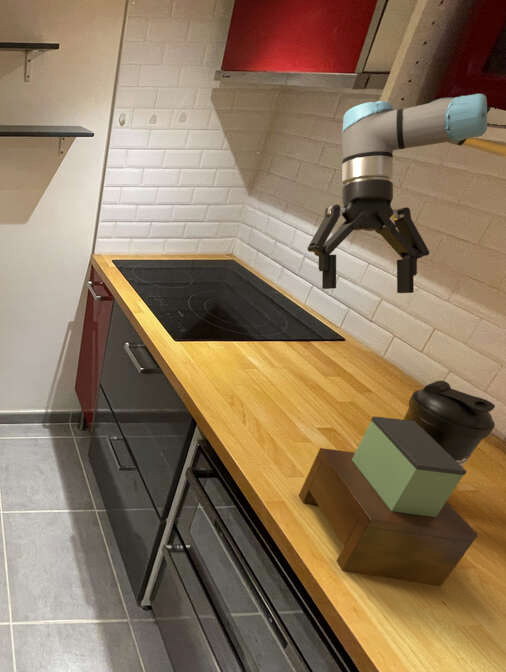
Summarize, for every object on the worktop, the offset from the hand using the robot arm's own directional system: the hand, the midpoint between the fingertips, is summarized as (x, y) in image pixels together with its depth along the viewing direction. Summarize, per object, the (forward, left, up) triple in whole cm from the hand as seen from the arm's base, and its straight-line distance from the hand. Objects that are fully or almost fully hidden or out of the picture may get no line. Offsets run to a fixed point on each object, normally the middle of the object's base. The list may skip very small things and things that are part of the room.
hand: (366, 290), depth 86 cm
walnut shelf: (+4, +27, -34) cm, 44 cm away
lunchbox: (+4, +27, -22) cm, 35 cm away
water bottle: (-10, +15, -34) cm, 39 cm away
